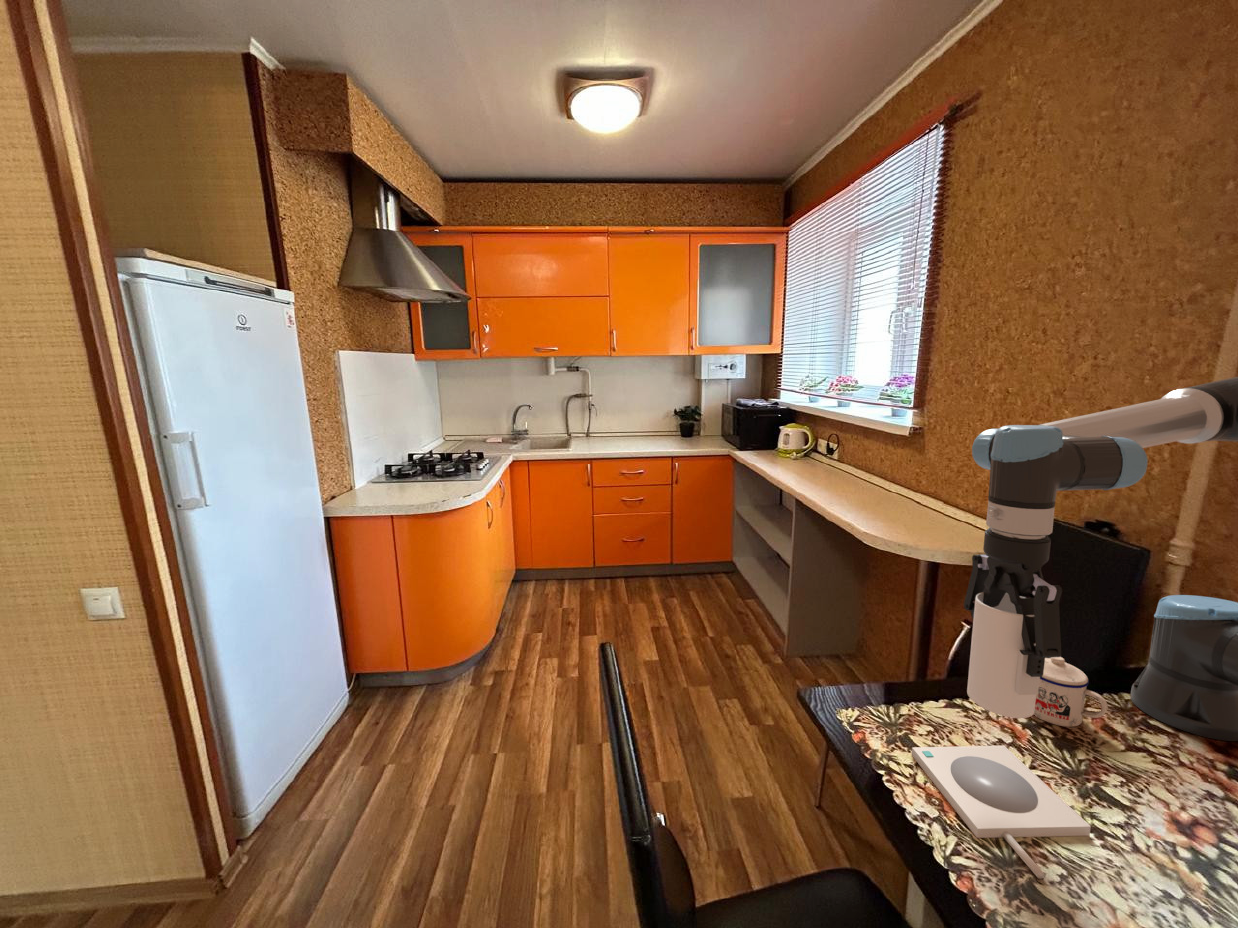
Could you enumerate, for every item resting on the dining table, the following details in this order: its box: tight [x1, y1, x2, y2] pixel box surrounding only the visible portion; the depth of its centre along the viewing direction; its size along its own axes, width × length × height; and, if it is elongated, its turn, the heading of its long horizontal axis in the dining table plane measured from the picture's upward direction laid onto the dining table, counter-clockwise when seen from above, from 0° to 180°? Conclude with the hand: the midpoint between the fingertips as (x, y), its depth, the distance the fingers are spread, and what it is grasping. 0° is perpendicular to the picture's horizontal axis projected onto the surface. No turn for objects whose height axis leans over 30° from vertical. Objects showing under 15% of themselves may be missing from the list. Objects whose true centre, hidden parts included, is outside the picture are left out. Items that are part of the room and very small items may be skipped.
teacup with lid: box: [1032, 656, 1109, 728], centre depth 94 cm, size 12×9×12 cm
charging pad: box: [911, 745, 1091, 880], centre depth 75 cm, size 16×22×2 cm
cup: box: [966, 592, 1036, 719], centre depth 74 cm, size 8×8×16 cm
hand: (1002, 674), depth 75 cm, fingers closed on cup, 8 cm apart
